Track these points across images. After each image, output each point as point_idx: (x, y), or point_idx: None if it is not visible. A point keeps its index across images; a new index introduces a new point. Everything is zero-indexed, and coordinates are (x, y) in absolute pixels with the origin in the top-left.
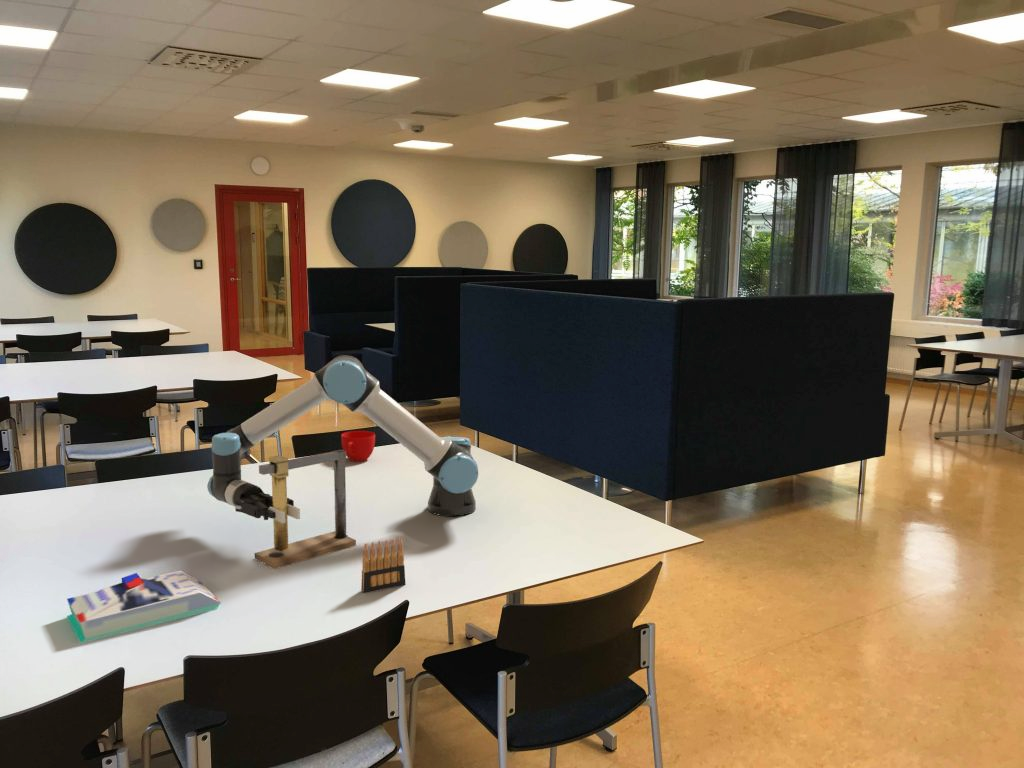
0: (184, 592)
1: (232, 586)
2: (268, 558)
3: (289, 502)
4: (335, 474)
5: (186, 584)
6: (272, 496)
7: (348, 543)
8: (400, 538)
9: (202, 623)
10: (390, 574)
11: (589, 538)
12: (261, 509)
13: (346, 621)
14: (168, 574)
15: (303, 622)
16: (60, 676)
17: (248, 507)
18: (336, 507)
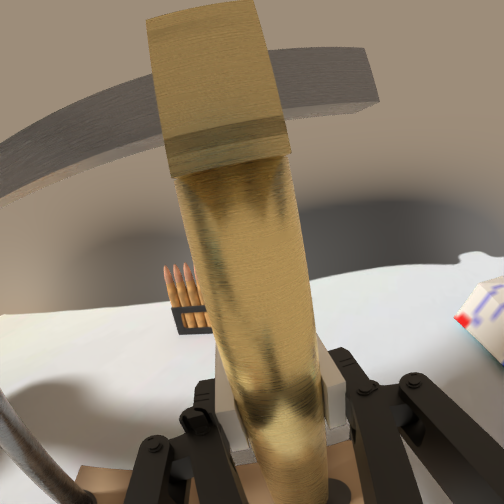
0: (501, 287)
1: (450, 381)
2: (357, 477)
3: (172, 448)
4: None
5: None
6: (312, 325)
7: (102, 469)
8: (165, 266)
9: (462, 296)
10: (194, 315)
11: (4, 334)
12: (391, 403)
13: None
14: None
15: (343, 291)
16: None
17: (478, 432)
18: (29, 439)
